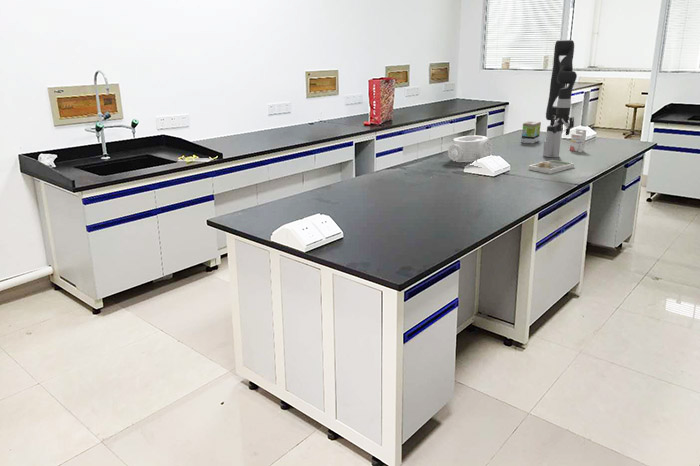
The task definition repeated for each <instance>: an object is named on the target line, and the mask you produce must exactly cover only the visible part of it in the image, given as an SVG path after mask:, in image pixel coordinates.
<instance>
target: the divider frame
mask: <svg viewBox="0 0 700 466" xmlns="http://www.w3.org/2000/svg"><path fill="white" fill-rule="evenodd" d="M545 162H550V163H551V164H550V169H547V168H542V167H538V163H534V164H530V165H528V170H529V171H533V172H534V171H535V172H538V171H539V173H545V174H549V175H550V174H555V173H558V172H562V171H565V170H569V169H573V168H575V165H576V164H575V163H574V162H569V161H563V160H555V159H550V160H547V161H545Z"/></svg>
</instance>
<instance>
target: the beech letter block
mask: <svg viewBox="0 0 700 466" xmlns="http://www.w3.org/2000/svg"><path fill="white" fill-rule="evenodd" d="M537 164H538V167H542V168H547V169H550V164H551V163H550V162H546V161H544V160H543V161H538V163H537Z"/></svg>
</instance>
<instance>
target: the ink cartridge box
mask: <svg viewBox="0 0 700 466" xmlns="http://www.w3.org/2000/svg"><path fill="white" fill-rule="evenodd" d="M586 137H587V130H586V129H579V128H576V129H575V133H571V138H570V145H569V151H571V152H577V151H578V153H581V152H585V145H586V139H587V138H586Z"/></svg>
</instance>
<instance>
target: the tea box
mask: <svg viewBox="0 0 700 466" xmlns="http://www.w3.org/2000/svg"><path fill="white" fill-rule="evenodd" d="M541 126H542V123H541V122H540V121H526V122H523V124H522V132H521V138H520V139H521V140H520V143H521V144H522V143H524V144H535V143H536V142H537V143H538V142H539V140H540V134H541Z"/></svg>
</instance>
